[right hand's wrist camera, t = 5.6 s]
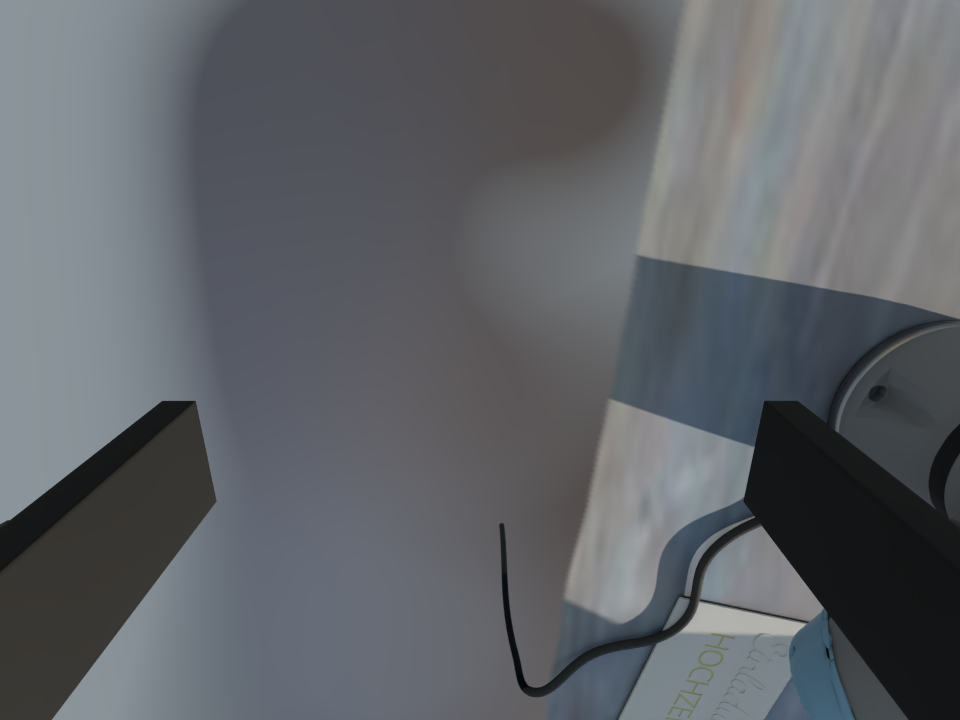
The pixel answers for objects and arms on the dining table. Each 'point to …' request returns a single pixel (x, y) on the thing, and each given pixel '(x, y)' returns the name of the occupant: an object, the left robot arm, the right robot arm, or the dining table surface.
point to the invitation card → (715, 667)
